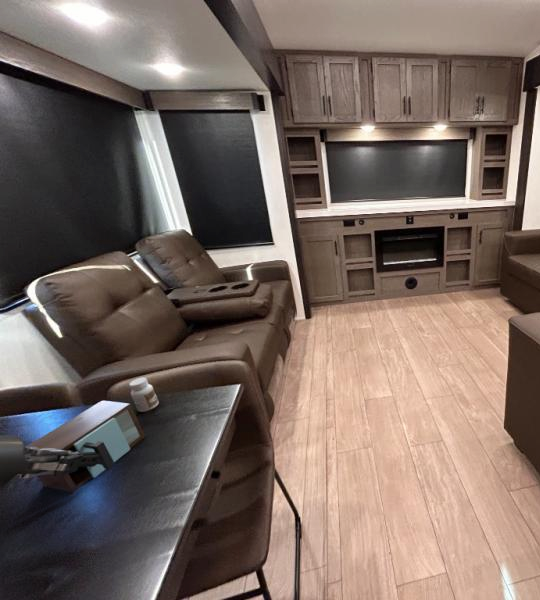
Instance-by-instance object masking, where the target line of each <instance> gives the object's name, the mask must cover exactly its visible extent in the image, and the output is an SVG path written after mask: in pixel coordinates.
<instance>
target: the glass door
mask: <svg viewBox="0 0 540 600" xmlns="http://www.w3.org/2000/svg"><path fill="white" fill-rule="evenodd" d="M73 445H74V447H75V448H76V450H77V452H97V453H101V457H100V459H99V461H98V464H97V465H96V466H92V467H87V469H88V471H89V472H90V474H91V476H92V477H93V478H92V479H95V478H97V477H98V476H99V475H100V474H102V473H103V472H104V471H106V470H109V469H111V468H112V467H113V466H115V465H116V462H117V461H118V460H119V459H121V458H122V457H123V456H124V455H126V454H127V453H128V452H129V451H130V450H131V448H130V447H129V445H128V443H127V441H126V439H125V437H124V435H123V433H122V431H121V429H120V427H119V425H118V423H117V421H116V419H115V418H112V419H110V420H109V421H107V422H106V423H104V424H103V425H101V426H100V427H98V428H97V429H95V430H94V431H92V432H91V433H89V434H88V435H87V436H85V437H84V438H82V439H81V440H79V441H78V442H76V443H75V444H73Z"/></svg>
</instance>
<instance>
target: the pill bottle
mask: <svg viewBox="0 0 540 600" xmlns="http://www.w3.org/2000/svg"><path fill="white" fill-rule="evenodd" d="M128 386H129V387H130V390H131V391H130V397H131V398H132V400H133V402H134V406H135V407H136V410H137V411H138V412H140V413H145V412H149V411H151V410H153V409H155V408H157V406H158V405H159V403H160V402H159V398H158V396H157V394H156V392H155V389H154V386H153V385H152V384H150V383H149V382H148V379H147V378H146V377H139V378H136V379H134V380H132V381H130V382H129V384H128Z"/></svg>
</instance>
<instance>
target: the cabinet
mask: <svg viewBox="0 0 540 600" xmlns="http://www.w3.org/2000/svg"><path fill="white" fill-rule="evenodd" d="M112 418H115V419H116V421H117V423H118V425H119V427H120V429H121V431H122V433H123V435H124V437H125V439H126V441H127V443H128V445H129V447H130V449H131V448H133V447H134V446H135V445H136V444H138V443H139V442H140V441H141V440H142V439H143V438H145V437H146V434H145V433H144V430H143V428H142V426H141V423H140V422H139V420H138V418H137V415H136V413H135V412H134V409H133V407H132V405H131V403H128V402H127V403H126V402H120V401H112V400H101V401H99V402H97V403H96V404H94V405H92V406H90V407H89V408H88V409H85V410H84V411H82V412H81V413H79V414H78V415H76V416H74V417H72V418H71V419H70V420H68V421H66V422H64V423H63V424H61V425H60V426H58V427H56V428H55V429H53V430H51V431H50V432H48V433H46V434H44V435H43V436H41V437H40V438H38V439H36V440H35V441H33V442H31V443H29V444H28V445H25V447H36V448H54V449H60V450H64V451H71V452H73V453H74V452H77V450H76V448H75V447H74V445H73V444H75V443H76V442H78V441H79V440H81V439H82V438H84V437H85V436H87V435H88V434H89V433H91V432H92V431H94V430H95V429H97V428H98V427H100V426H101V425H103V424H104V423H106V422H107V421H109V420H110V419H112ZM52 475H53V474H49V475H39V476H37V477H36V478H37V479H38V480H39V483H41V485H42V487H45V488H50V489H54V490H59V491H61V492H62V491H63V492H67V493H71V494H74V493H76V492H77V491H79V489H80V488H82V487H83V486H84V485H85V484H86V483H88V482H89V481H90V480H92V479H94V478H93V477H92V476H91V474H90V472H89V471H88V469H87V467H78V469H77V471H75V472H72V473H69V474H66V475H64V476H60V477H55V476H52Z"/></svg>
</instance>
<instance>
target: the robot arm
mask: <svg viewBox="0 0 540 600" xmlns="http://www.w3.org/2000/svg"><path fill="white" fill-rule="evenodd" d="M100 457H101V453H97V452H74V453H73V452H71V451H64V450H60V449H54V448H36V447H26V444H25V441H24V440H23V439H22V437H20V436H17V435H2V434H1V435H0V489H2V488H4V487H5V486H7V484H8V483H9V482H11V480H13V479H14V478H15V477H17V476H19V479H33V478H38V477H37V476H39V475H49V474H53V475H52V476H55V477H60V476H64V475H66V474H69V473H72V472H75V471H77V469H78V467H92V466H96V465H97V464H98V461H99V459H100Z"/></svg>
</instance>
